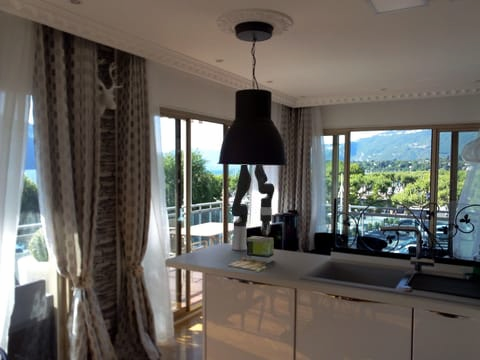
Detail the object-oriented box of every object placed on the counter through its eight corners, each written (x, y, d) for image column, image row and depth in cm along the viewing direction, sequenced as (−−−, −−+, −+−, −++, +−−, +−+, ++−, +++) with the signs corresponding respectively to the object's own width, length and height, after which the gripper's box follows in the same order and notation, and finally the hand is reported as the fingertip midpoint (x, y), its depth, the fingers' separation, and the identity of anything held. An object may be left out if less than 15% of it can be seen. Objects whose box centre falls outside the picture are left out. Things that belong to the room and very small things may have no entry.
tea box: (273, 260, 258) (274, 237, 257) (267, 263, 249) (268, 240, 248) (252, 257, 265) (253, 235, 264) (246, 260, 256) (246, 237, 255)
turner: (259, 272, 228) (259, 270, 228) (253, 271, 230) (253, 269, 230) (272, 266, 242) (272, 264, 242) (267, 265, 244) (267, 263, 244)
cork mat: (227, 266, 241) (227, 263, 241) (241, 261, 255) (241, 258, 255) (253, 270, 232) (254, 267, 232) (266, 265, 245) (266, 262, 245)
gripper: (265, 212, 269) (265, 237, 270) (256, 214, 258) (255, 241, 258) (275, 213, 265) (275, 239, 266) (266, 215, 254) (266, 242, 254)
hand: (265, 240), depth 262 cm, fingers closed
